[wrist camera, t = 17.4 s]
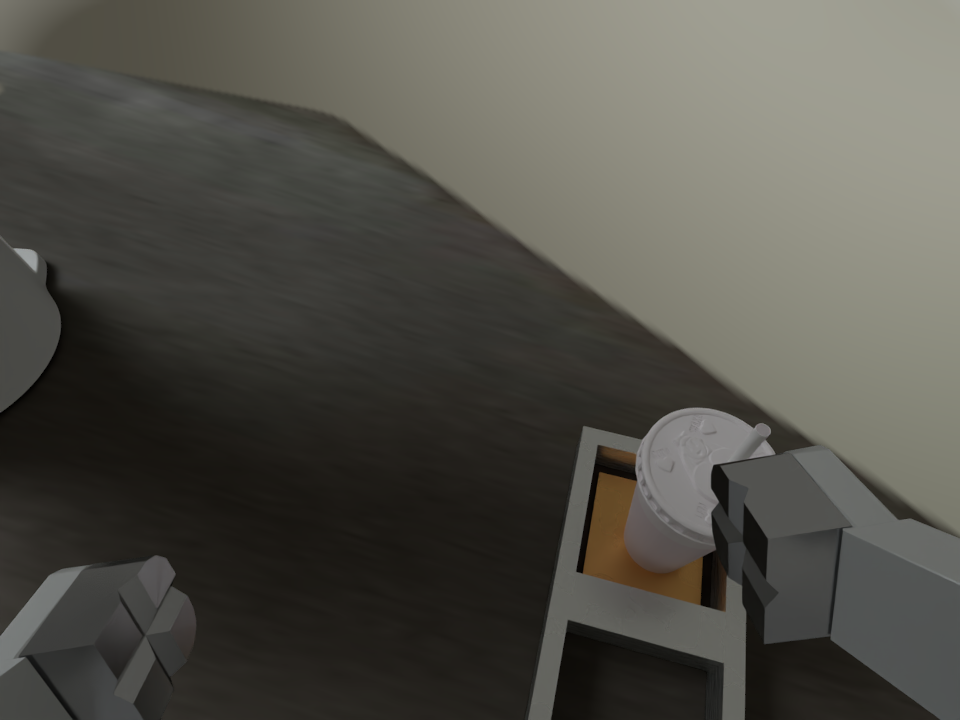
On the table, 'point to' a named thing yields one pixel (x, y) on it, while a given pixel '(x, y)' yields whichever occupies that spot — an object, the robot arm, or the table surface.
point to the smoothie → (683, 484)
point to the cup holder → (634, 592)
